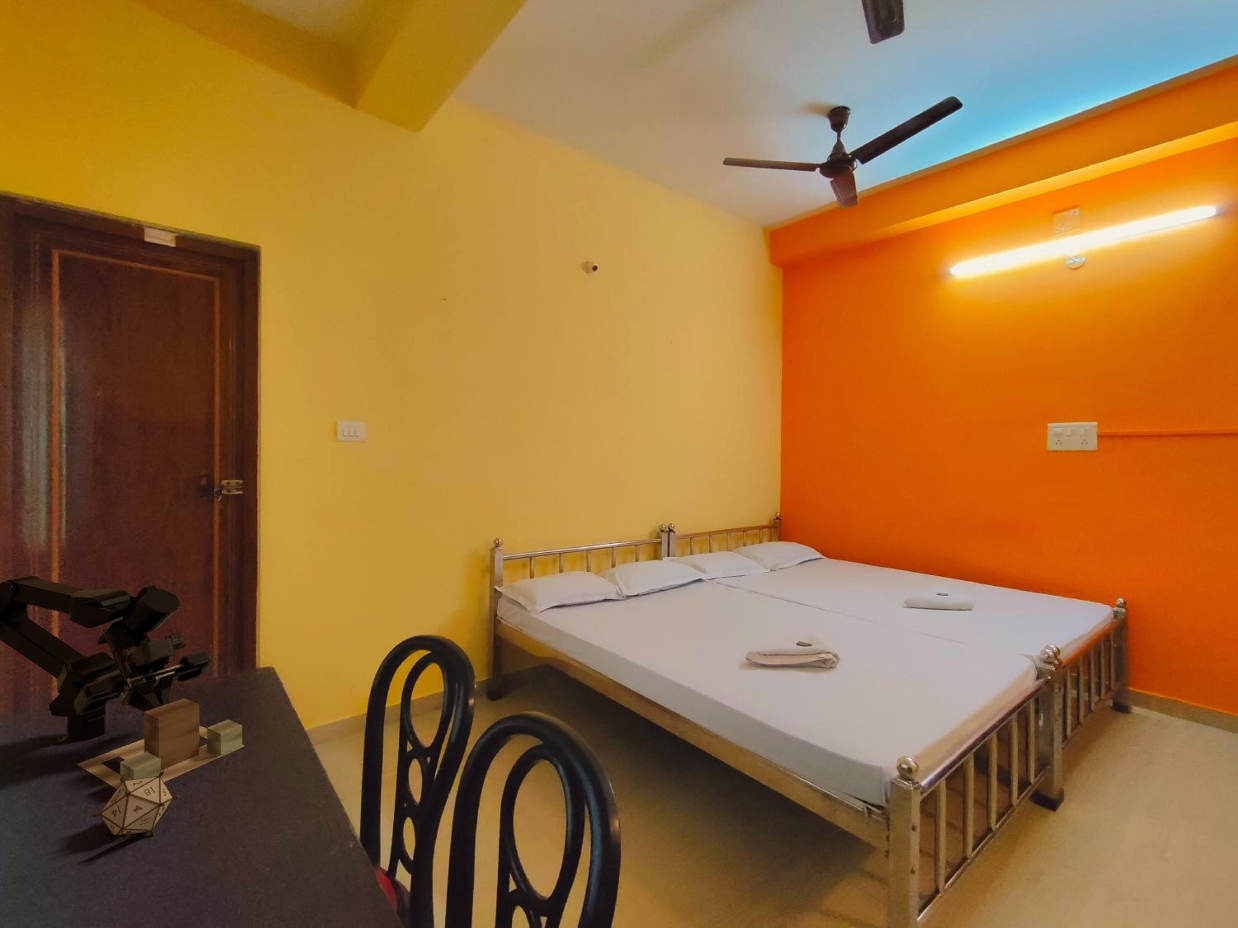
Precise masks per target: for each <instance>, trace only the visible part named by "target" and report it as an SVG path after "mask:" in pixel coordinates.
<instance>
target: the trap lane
mask: <svg viewBox="0 0 1238 928" xmlns="http://www.w3.org/2000/svg"><path fill="white" fill-rule="evenodd" d="M199 737H202V738H203V739H206V744H205V745H202V746H199V755H197V756H195V757H192V758H190V759H188V760H185V761H183V762H181V763H178V764H176V765H174V766H171V767H169V768H167V769H164V774H163V775H162V776H161V778H162V780H163V782H164V783H166V782H168V781H170V780H172V779H174V778H177V777H178V776H182V775H183V774H185V773H188V772H190V771H191V770H194V769H197V768H199V767H201V766H203V765H205V764H208V763H210V762H213V761H215V760H217V759H218V758H221V757H223V756H226V755H228V754H230V753H233V752H235V751H237V750H239V749H242V748H244V747H245V746H246V745H244V744H243V725H242V724H239V723H238V722H235V721H233V720H230V719H226V720H224V721H221V722H218V723H216V724H212V725H211V726H209V727H208V726H207V728H206V727H204V726H201V724H199ZM118 757H119V758H121V759H123V760H122V761H119V767H120V768H119V773H118V772H116V771H114V770H113V769H112V768H109V767H107V766H106V765H104V764H103V763H105V762H107V761H110V760H112V759H115V758H118ZM76 765H77V766H79V767H80V768H82V769H83V770H86V771H87V772H89V773H90V774H92V775H94V776H95V777H96V778H99V779H100V780H102V781H103V782H105V783H107V784H108V785H110V786H111V787H112V788H114V789H116V790H117V789H118V787H119V786H120V785H121V783H122V781H121V780H120V777H121V776H123V777H124V778H125V780H132V779H139V778H146V777H154V776H159V773H160V772H162V771H163V770H162V771H161V759H160V758H158V757H156V756H154V755H152V754H150V753H148V752H145V753H144V738H143V739H140V740H138V741H135V742H133V743H130V744H126V745H124V746H121V747H119V748H116V749H113V750H111V751H108V752H105V753H103V754H100V755H98V756H95V757H92V758H89V759H87V760H84V761H82V762H79V763H77V764H76Z"/></svg>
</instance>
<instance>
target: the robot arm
mask: <svg viewBox="0 0 1238 928" xmlns="http://www.w3.org/2000/svg"><path fill="white" fill-rule="evenodd" d="M29 606H33V607H38V608H43V609H47V610H51V611H55V612H58V613H59V612H60V613H63V614H65V615H68V618H69V620H70V622H72V623H74V624H75V625H79V626H81V627H83V628H85V629H94V628H98V627H101V626H103V625H106V624H110V625H109V626H108V627H106V628H103V630H102V632H101V634H100V636H99V637H98V638H97V642H96V644H97V645H106V644H107V645H108V647H109V649H110V650H109V651H110V652H111V655H112V657H113V658H112V657H111V656H110V654H109V653H107V652H104V651H100V652H97V653H94V654H91V655H88V656H87V655H83V654H82V653H81V652H79V651H77V650H76V649H75V648H73V647H72V646H71V645H69V644H68V643H66V642H64V641H63V640H62V639H60V638H59V637H57V636H56V635H54V634H53V633H51V632H50V631H49V630H47V629H45V628H44V627H42V626H41V625H40V624H37V622H35V621H33V620H32V619H31V618H29V609H28V607H29ZM179 607H180V599H179V598H178V596H177V595H176V594H175V593H172V592H170V591H168V590H165V589H162V588H161V589H160V588H157V587H156V585H155V584H151V585H147V586H144V587H143V588H142V589H140V591H139V592H138V594H137V595H132V594H130V593H129V592H128V591H126V590H124V589H119V588H118V589H115V588H104V589H103V588H101V589H100V588H99V589H84V588H80V587H76V586H71V585H67V584H63V583H61V582H60V583H59V582H55V581H50V580H47V579H41V578H40V577H39V576H37V575H24V576H19V577H15V578H10V579H6V580H3V581H2V582H0V641H1V642H3V643H4V644H6V646H8V647H10V648H11V649H13V650H15V652H17V653H18V654H20V655H22V656H23V657H25V658H26V659H27V660H29V661H31V662H32V663H33V664H34V665H36V666H37V667H39V668H41V669H42V670H43V671H45V672H46V673H48V674H50V675H51V676H52V677H54V678H55V679H56V688H57V689H56V691H57V693H58V694H57V695H56V697H55V698H54V699H52V700H51V702H49V704H48V708H49V711H50V714H51V717H52V716H53V717H63V718H65V735H64V736H60V737H58V738H57V743H61V742H64V741H67V740H68V741H80V740H81V741H91V740H93V739H95V738H99V737H101V736H105V735H106V732H107V730H108V728H109V727H108V702H110V701H112V700H115V699H118V698H120V696H122V698H123V699H122V700H121V702H120V705H121V706H125V707H126V706H130V707H133V708H135V709H137V710H139V711H141V712H143V713H144V712H146V711H148V710H151V709H154V708H157V707H160V706H163V705H166V704H169V703H170V694H171V693H170V692H171V688H172V687H173V686H174V684H175V683H176V682H180V683H185V682H189V681H192V680H195V679H198V678H200V677H201V676H202V675H204V673H205V671H206V670H207V668H208V667H209V666H210V664H211V663H212V661H213V659H212V658H211V656H210V653H209V652H207V651H204V650H202V651H197V652H193V653H190V654H187V655H184V656H182V657H181V659H180V660H179V662H178V663H177V665H173V666H169V667H165V666H166V665H169V663H170V662H171V660H170V658H171V657H172V656H176V655H177V652H178V651H181V650H184V648H186V641H185V638H184V636H183V634H182V632H181V631H177V632H173V633H170V634H168V635H166V636H165V639H162V640H157V639H154V640H153V639H152V638H151V635H150V633H151V632H155V631H156V630H158V629H160V627H161V626H162V625H163V624H164V623H165V622H166V621H167V620H168V619H169V618H170V617H171V616H172V615H173V614H174V613H175V612H176V611H177V610H178V609H179Z"/></svg>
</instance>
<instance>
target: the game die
mask: <svg viewBox="0 0 1238 928" xmlns="http://www.w3.org/2000/svg"><path fill="white" fill-rule="evenodd" d="M163 774H164V770H163V771H162V772H160V773H159V776H154V777H146V778H139V779H132V780H125V778H124V777H123V776H121V777H120V780H121V781H122V783H121V785H120V786H119V787H118V789H116V790H115V791H114V793H113V794H112V795H111V797H110V798H109V799H108V801H107V802H106V803H105V805H104V806H103V808H102V809H101V811H99V812H98V811H97V812H94V813H93V814H91V815H90V816H91V817H93V818H96V817H98V816H100V818H101V820H102V821H103V822H104V824H105V826H106V827H107V828H108V830H109V831H110V833H111V834H112V835H114V836H120V835H123V836H129V835H135V834H141V833H147V832H150V836H154V837H155V835H156V831H155V829H154V828H155V827H156V825H157V823H158V822H159V821H160V820H161V818H162V816H163V815H164V813H165V811H166V810H167V808H168V806H170V804H171V802H172V801H173V800H177V799H179V798H181V797H180V795H178V794H177V795H174V796H173V795H172V794H171V792H170V790H169V788H168V787H167V785H166V782H163V780H162V778H161V776H162V775H163ZM114 841H115V840H114V839H113V840H111V841H109V844H111V843H112V842H114Z"/></svg>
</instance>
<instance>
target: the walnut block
mask: <svg viewBox="0 0 1238 928" xmlns="http://www.w3.org/2000/svg"><path fill="white" fill-rule="evenodd" d="M199 725H200V704H199V703H197V702H194V701H192V700H189V699H187V698H185V697H184V698H180V699H179V700H175V701H173V702H169V704H166V705H163V706H160V707H157V708H154V709H151V710H148V711H146V712H143V739H144V753H145V752H148V753H150V754H152V755H154V756H156V757H158V758H160V759H161V771H162V770H164V769H167V768H169V767H171V766H174V765H176V764H178V763H181V762H183V761H185V760H188V759H190V758H192V757H195V756H197V755H199V747H200V736H199Z"/></svg>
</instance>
